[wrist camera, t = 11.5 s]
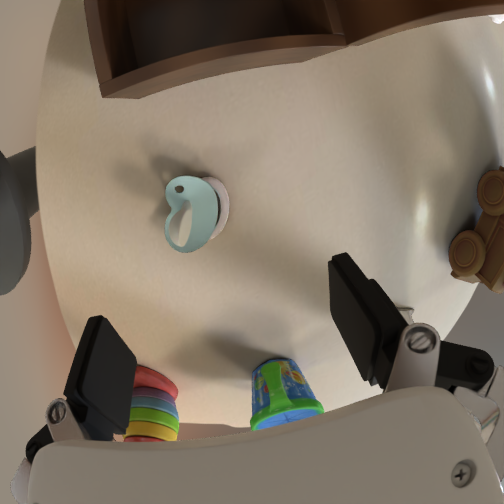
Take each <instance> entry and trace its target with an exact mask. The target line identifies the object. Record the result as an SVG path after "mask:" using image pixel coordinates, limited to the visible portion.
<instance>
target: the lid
mask: <svg viewBox="0 0 504 504" xmlns="http://www.w3.org/2000/svg"><path fill="white" fill-rule="evenodd" d="M335 2H336V6H337V9H338V13H339V16H340V20H341V24H342V28H343V32H344V36H345V40H346V45H347V46H359V45H362V44H365V43H367V42H370V41H373V40H376V39H379V38H382V37H385V36H388V35H392V34H395V33H398V32H402V31H405V30H409V29H413V28H417V27H421V26H425V25H429V24H434V23H438V22H443V21H449V20H455V19H461V18H468V17H476V16H486V15H500V14H504V0H335Z"/></svg>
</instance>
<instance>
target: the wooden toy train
mask: <svg viewBox="0 0 504 504" xmlns="http://www.w3.org/2000/svg"><path fill="white" fill-rule="evenodd" d="M477 198H478V202H479V205H480V207H481V208H482V210H483V212H482V214H481V216H480V218H479V221H478V223H477V225H476V227H475V229H474V231H472V230H466V231H463V232H461V233H459V234H458V235H457V236H456V237H455V238H454V240H453V241H452V243H451V246H450V249H449V262H450V264H451V267H452V269H453V270H452V272H451V275H452V276H453V277H454V278H455V279H459V280H462V281H466V282H469V283H476V282H480V283H484V284H485V285H486V286H487V287H488V288H489V289H490V290H491V291H493V292H496V293H499V294H501V293H502V292H503V291H504V167H502V166H500V168H499V170H491V171H489V172H487V173H485V174H484V175H483V176H482V177H481V179H480V181H479V183H478V187H477Z"/></svg>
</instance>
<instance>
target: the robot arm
mask: <svg viewBox="0 0 504 504" xmlns="http://www.w3.org/2000/svg"><path fill="white" fill-rule="evenodd" d="M328 271H329V290H330V311H331V315H332V318H333V320H334V322H335V324H336V326H337V328H338V330H339V332H340V334H341V336H342V338H343V340H344V342H345V344H346V346H347V348H348V350H349V352H350V354H351V356H352V358H353V360H354V362H355V364H356V366H357V368H358V370H359V372H360V374H361V377H362V379H363V380H364V381H367V380H368V381H369V383H370V385H371V386H373V385H376V384H379V386H380V388H381V389H384V390H383V393H382V394H380V395H376V396H373V397H371V398H368V399H365V400H362V401H359V402H355V403H353V404H350V405H347V406H344V407H341V408H338V409H335V410H332V411H329V412H325V413H322V414H319V415H315V416H312V417H308V418H305V419H301V420H298V421H294V422H290V423H286V424H282V425H278V426H273V427H269V428H264V429H259V430H254V431H249V432H244V433H238V434H232V435H225V436H218V437H210V438H202V439H192V440H180V441H162V442H116V440H115V439H114V437H113V433H115V434H121V435H126V428H128V427H129V420H130V411H131V402H132V394H133V386H134V379H135V372H136V366H137V360H136V357H135V355H134V354H133V353H132V351H131V350H130V349H129V348H128V346H127V345H126V344H125V342H124V341H123V340H122V339H121V337H120V336H119V335H118V333H117V332H116V330H115V329H114V328H113V326H112V325H111V324H110V322H109V321H108V319H107V318H104V317H103V316H102V315H98V316H94V317H90V318H89V319H88V321H87V324H86V326H85V329H84V332H83V334H82V337H81V340H80V342H79V345H78V348H77V351H76V354H75V357H74V360H73V363H72V366H71V370H70V373H69V376H68V379H67V383H66V386H65V390H64V393H63V394H64V395H65V396H66V397H67V399H66V400H64V399H62V398H58V399H55V400H54V401H52V402H51V403H50V405H49V406H48V408H47V411H46V422H47V424H46V425H45V426H44V427H43V428H42V429H41V430H40V431H39V432H38V433H37V434H35V435H34V436H33V437H32V438H31V439H30V440H29V442H28V443H27V446H26V457H27V459H26V458H24V460H23V461H22V463H21V465H20V466H19V468H18V470H17V472H16V474H15V476H14V478H13V480H12V482H11V492H12V494H13V496H14V498H15V499H16V501H17V502H18V503H19V504H504V493H503V490H502V487H501V481H502V479H503V477H504V367H502V366H499V367H498V368H497V367H496V366H494V362H493V360H492V358H491V356H490V355H489V354H488V353H487V352H485V351H483V350H481V349H476V348H472V347H467V346H463V345H458V344H454V343H450V342H446V341H441V340H440V336H439V334H438V332H437V331H436V329H435V328H433V327H432V326H430V325H428V324H425V323H414V324H411V325H409V324H408V323H407V321H406V320H405V319H404V317H403V316H402V314H401V313H400V312H399V310H398V309H397V308H396V306H395V305H394V304H393V302H392V301H391V300H390V298H389V297H388V296H387V294H386V293H385V292H384V291H383V289H382V288H381V287H380V285H379V284H378V283H377V282H376V281H375V280H374V279H369V280H368V279H367V277H366V276H365V275H364V273H363V272H362V271H361V270H360V268H359V267H358V266H357V264H356V263H355V262H354V261H353V259H352V258H351V257H350V256H349V254H348V253H346V252H345V253H341V254H338V255H334V256H332V260H331V261H328ZM464 407H465V408H467V409H468V410H470V411H471V412H470V414H472V415H473V416H475V417H476V418H477V419H478V420H479V421H480V424H481V432H480V433H479V431H478V429H477V427H476V425H475V423H474V422H473V420H472V419H471V417H470V415H469V414H468V412H467V411H466V409H465V408H464Z"/></svg>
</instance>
